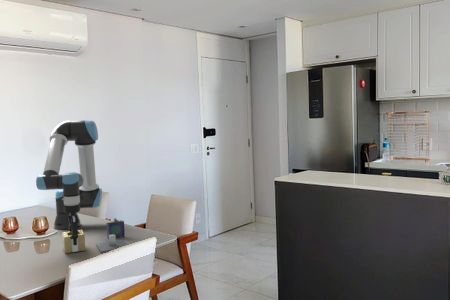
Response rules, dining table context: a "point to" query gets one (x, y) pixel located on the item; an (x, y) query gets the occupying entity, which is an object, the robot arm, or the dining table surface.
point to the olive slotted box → (68, 241)
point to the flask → (115, 228)
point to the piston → (110, 244)
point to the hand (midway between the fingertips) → (74, 248)
